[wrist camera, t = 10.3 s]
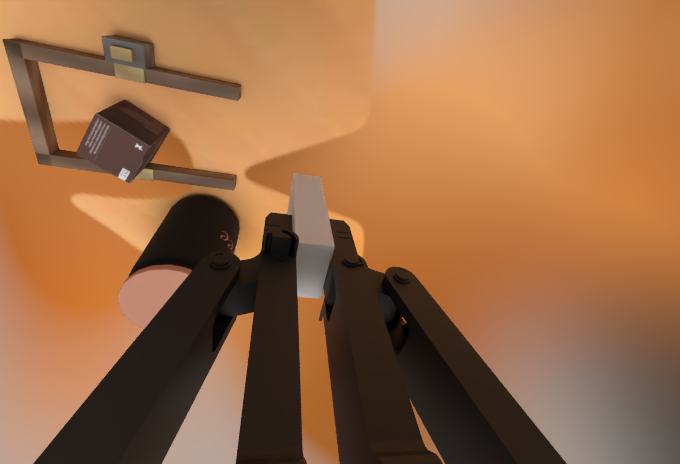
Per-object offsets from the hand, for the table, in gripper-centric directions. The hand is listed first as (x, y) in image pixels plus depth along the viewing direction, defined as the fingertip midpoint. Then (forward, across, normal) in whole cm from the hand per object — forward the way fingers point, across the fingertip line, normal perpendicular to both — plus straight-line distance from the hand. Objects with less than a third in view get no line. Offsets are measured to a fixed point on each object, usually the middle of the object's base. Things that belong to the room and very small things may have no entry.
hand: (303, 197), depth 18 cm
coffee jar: (+30, -11, -21) cm, 38 cm away
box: (+30, -20, -8) cm, 37 cm away
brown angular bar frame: (+29, -19, -6) cm, 35 cm away
